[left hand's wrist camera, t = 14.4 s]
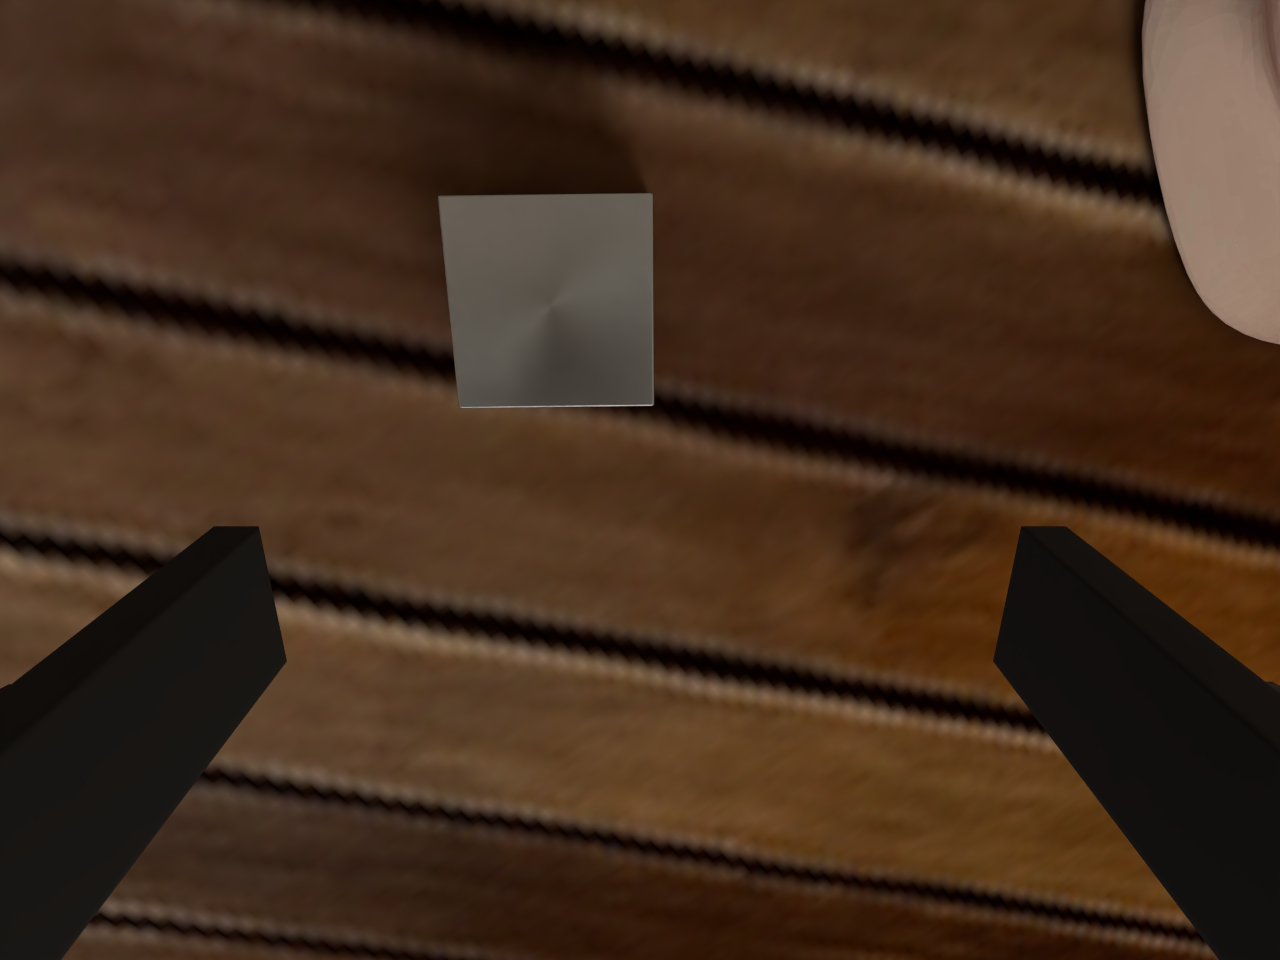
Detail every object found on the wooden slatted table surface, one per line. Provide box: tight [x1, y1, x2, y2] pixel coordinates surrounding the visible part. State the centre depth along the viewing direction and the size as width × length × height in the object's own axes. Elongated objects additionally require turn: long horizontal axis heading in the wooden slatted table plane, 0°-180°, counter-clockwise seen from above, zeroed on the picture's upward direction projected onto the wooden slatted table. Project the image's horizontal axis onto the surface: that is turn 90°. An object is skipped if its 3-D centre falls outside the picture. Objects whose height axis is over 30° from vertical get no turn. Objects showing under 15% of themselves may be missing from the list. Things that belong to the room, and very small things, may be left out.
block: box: [438, 193, 654, 408], centre depth 18 cm, size 4×5×4 cm
